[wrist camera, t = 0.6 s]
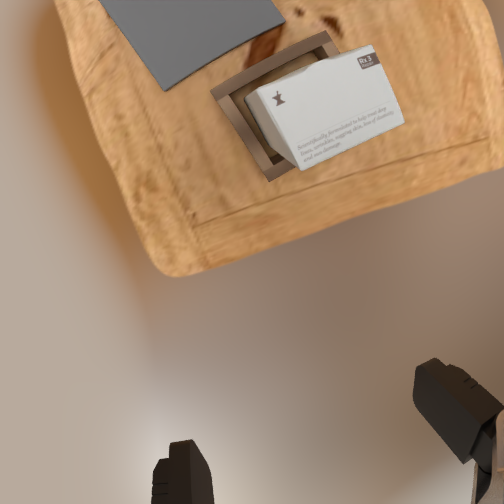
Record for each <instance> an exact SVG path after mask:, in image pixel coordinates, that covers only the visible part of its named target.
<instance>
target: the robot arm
mask: <svg viewBox="0 0 504 504" xmlns="http://www.w3.org/2000/svg"><path fill="white" fill-rule="evenodd" d="M413 401H414V404H415V406H416V408H417V409H418V411H419V412H420V413H421V414H422V415H423V416H424V418H425V419H426V420H427V421H428V423H429V424H430V425H431V426H432V427H433V429H434V430H435V431H436V432H437V433H438V434H439V436H441V438H442V439H443V440H444V442H445V443H446V444H447V445H448V447H449V448H450V449H451V450H452V451H453V453H454V454H455V455H456V456H457V457H458V459H459V460H460V461H461V462H462V463H463V464H465V463H466V462H468V461H469V460H470V459H472V458H473V459H474V460H475V461H476V463H475V467H474V480H473V490H472V500H471V504H504V406H503V405H502V404H501V403H500V402H499V401H498V400H497V399H496V398H495V397H494V396H492V395H491V394H490V393H489V392H488V391H487V390H486V389H484V388H483V387H482V386H481V385H479V384H478V382H477V381H475V380H474V379H473V378H471V376H470V375H469V374H467V373H466V372H465V371H464V370H463V369H461V368H459V367H455V366H453V365H451V364H449V365H448V366H446V365H444V364H443V363H442V362H441V361H440V360H439V359H437V358H433V359H431V360H429V361H427V362H425V363H423V364H421V365H419V366H417V367H416V370H415V381H414V388H413ZM152 484H153V487H152V499H151V504H214V495H213V486H212V477H211V472H210V469H209V466H208V464H207V462H206V460H205V459H204V457H203V455H202V454H201V452H200V450H199V449H198V447H197V445H196V444H195V442H194V441H193V440H192V439H191V440H185V441H179V442H172V443H170V446H169V458H165V459H160V460H159V461H158V463H157V465H156V467H155V469H154V471H153V481H152Z"/></svg>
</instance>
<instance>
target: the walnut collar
mask: <svg viewBox="0 0 504 504" xmlns="http://www.w3.org/2000/svg"><path fill="white" fill-rule="evenodd" d="M312 50H313V52H314V53H315V55H316V57H317V58H318V60H319V61H320V60H323V59H326V58H329V57H332V56H335V55H338V54H340V53H339V51H338V49H337V48H336V46H335V44H334V43H333V41H332V39H331V38H330V36H329V34H328V33H327V31H326V30H325V31H323V32H321V33H318V34H316V35H314V36H311V37H309V38H307V39H305V40H303V41H300V42H298V43H296V44H294V45H292V46H290V47H288V48H286V49H284V50H282V51H280V52H278V53H276V54H274V55H272V56H270V57H268V58H266V59H264V60H262V61H261V62H259V63H257V64H255V65H253V66H251V67H249V68H248V69H246V70H244V71H242V72H241V73H239V74H237V75H235V76H234V77H232V78H230V79H229V80H227V81H225V82H223V83H222V84H220V85H219V86H217V87H215V88H214V89H212V90H210V92H211V94H212V95H213V97H214V98H215V99H216V101H217V102H218V104H219V105H220V107H221V108H222V110H223V111H224V113H225V114H226V116H227V117H228V119H229V120H230V122H231V123H232V125H233V126H234V128H235V130H236V131H237V133H238V134H239V136H240V137H241V139H242V140H243V142H244V143H245V145H246V146H247V148H248V150H249V151H250V153H251V154H252V156H253V157H254V159H255V161H256V162H257V164H258V165H259V167H260V168H261V170H262V172H263V173H264V175H265V176H266V178H267V180H268V181H269V182H270V181H272V180H274V179H276V178H277V177H279V176H281V175H282V174H284V173H286V172H288V171H289V170H291V169H293V168H295V167H296V166H295V165H293V164H292V163H291V162H289V161H288V160H287V159H286V158H284V157H283V156H282V155H280V154H279V153H278V154H277V155H275V156H273V157H271V158H270V159H269V157H268V156H267V154H266V152H265V151H264V149H263V148H262V146H261V144H260V143H259V141H258V140H257V138H256V136H255V135H254V133H253V132H252V130H251V129H250V127H249V125H248V124H247V122H246V121H245V119H244V118H243V116H242V115H241V113H240V112H239V110H238V109H237V107H236V105H235V104H234V102H233V101H232V99H231V98H230V96H229V94H231V93H233V92H234V91H236V90H238V89H240V88H241V87H243V86H245V85H247V84H248V83H250V82H252V81H254V80H255V79H257V78H259V77H261V76H263V75H264V74H266V73H268V72H270V71H272V70H274V69H276V68H278V67H280V66H281V65H283V64H285V63H287V62H289V61H291V60H293V59H295V58H297V57H299V56H301V55H304V54H306V53H308V52H310V51H312Z"/></svg>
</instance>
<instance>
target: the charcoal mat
mask: <svg viewBox="0 0 504 504" xmlns="http://www.w3.org/2000/svg"><path fill="white" fill-rule="evenodd" d="M99 1H100V3H101V4H102V5H103V7H104V8H105V9H106V11H107V12H108V14H109V15H110V16H111V18H112V19H113V20H114V22H115V23H116V25H117V26H118V27H119V29H120V30H121V32H122V33H123V34H124V36H125V37H126V38H127V40H128V41H129V43H130V44H131V45H132V47H133V48H134V50H135V51H136V52H137V54H138V55H139V57H140V58H141V59H142V61H143V62H144V64H145V65H146V66H147V68H148V69H149V71H150V72H151V74H152V75H153V76H154V78H155V79H156V81H157V82H158V83H159V85H160V86H161V88H162V89H163V91H167V90H169V89H170V88H171V87H173V86H174V85H176V84H177V83H179V82H180V81H182V80H183V79H185V78H186V77H188V76H189V75H191V74H192V73H194V72H196V71H197V70H199V69H200V68H202V67H204V66H205V65H207V64H208V63H210V62H212V61H213V60H215V59H217V58H219V57H220V56H222V55H224V54H225V53H227V52H229V51H231V50H232V49H234V48H236V47H238V46H240V45H242V44H243V43H245V42H247V41H249V40H251V39H253V38H255V37H257V36H259V35H261V34H263V33H265V32H267V31H269V30H271V29H273V28H275V27H277V26H279V25H281V24H284V23H285V19H284V18H283V16H282V15H281V13H280V12H279V11H278V9H277V8H276V6H275V5H274V4H273V2H272V1H271V0H99Z"/></svg>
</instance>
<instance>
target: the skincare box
mask: <svg viewBox="0 0 504 504" xmlns="http://www.w3.org/2000/svg"><path fill="white" fill-rule="evenodd" d="M244 101H245V103H246V105H247V107H248V108H249V110H250V112H251V114H252V116H253V118H254V120H255V121H256V123H257V125H258V127H259V129H260V131H261V133H262V135H263V136H264V138H265V140H266V142H267V144H268V145H269V146H270V147H271V148H272V149H274V150H275V151H277V152H278V153H279V154H280V155H282V156H283V157H284V158H286V159H287V160H288V161H289V162H291V163H292V164H293V165H295V166H296V167H297V168H298V169H300V170H301V171H303V170H306V169H308V168H310V167H312V166H314V165H316V164H318V163H320V162H322V161H325V160H327V159H329V158H331V157H333V156H335V155H338V154H340V153H342V152H344V151H346V150H348V149H350V148H353V147H355V146H357V145H359V144H361V143H363V142H365V141H367V140H369V139H372V138H374V137H376V136H378V135H380V134H382V133H385V132H387V131H389V130H391V129H393V128H395V127H397V126H399V125H401V124H403V123H405V121H404V118H403V115H402V112H401V109H400V107H399V104H398V102H397V99H396V97H395V95H394V92H393V90H392V88H391V85H390V83H389V81H388V78H387V76H386V74H385V72H384V70H383V67H382V65H381V63H380V61H379V59H378V57H377V55H376V53H375V50H374V48H373V46H372V45H371V44H369V45H367V46H363V47H360V48H357V49H353V50H350V51H347V52H344V53H341V54H338V55H335V56H332V57H329V58H326V59H323V60H320V61H317V62H314V63H312V64H309V65H307V66H304V67H302V68H300V69H298V70H295V71H293V72H291V73H289V74H287V75H285V76H283V77H281V78H279V79H277V80H275V81H273V82H271V83H268V84H266V85H263V86H261V87H259V88H257V89H255V90H254V91H253V92H251V93H250V94H248V95H247V96H246V97H245V98H244Z"/></svg>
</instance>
